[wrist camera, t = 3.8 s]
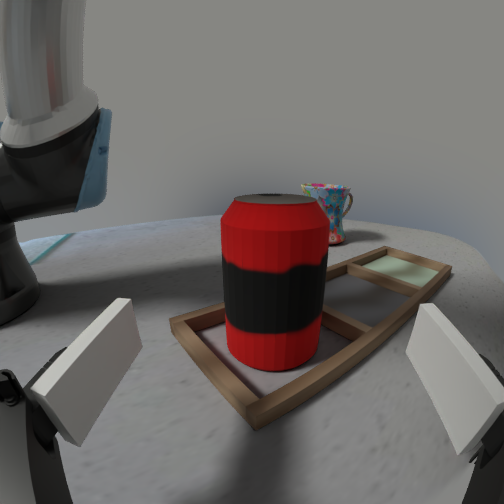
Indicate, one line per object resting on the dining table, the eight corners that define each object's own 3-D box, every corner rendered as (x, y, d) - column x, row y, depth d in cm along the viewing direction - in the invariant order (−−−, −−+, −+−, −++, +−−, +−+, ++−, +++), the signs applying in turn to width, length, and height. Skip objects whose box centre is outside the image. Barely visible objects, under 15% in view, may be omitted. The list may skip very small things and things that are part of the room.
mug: (320, 250, 47) (323, 188, 43) (290, 238, 55) (291, 183, 51) (365, 242, 52) (369, 188, 48) (334, 231, 60) (337, 183, 56)
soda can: (301, 316, 27) (308, 192, 23) (330, 365, 19) (351, 206, 16) (224, 324, 26) (217, 194, 22) (231, 379, 18) (222, 208, 15)
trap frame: (171, 332, 24) (169, 318, 23) (383, 254, 44) (384, 245, 44) (255, 430, 14) (255, 416, 13) (450, 275, 34) (452, 266, 34)
